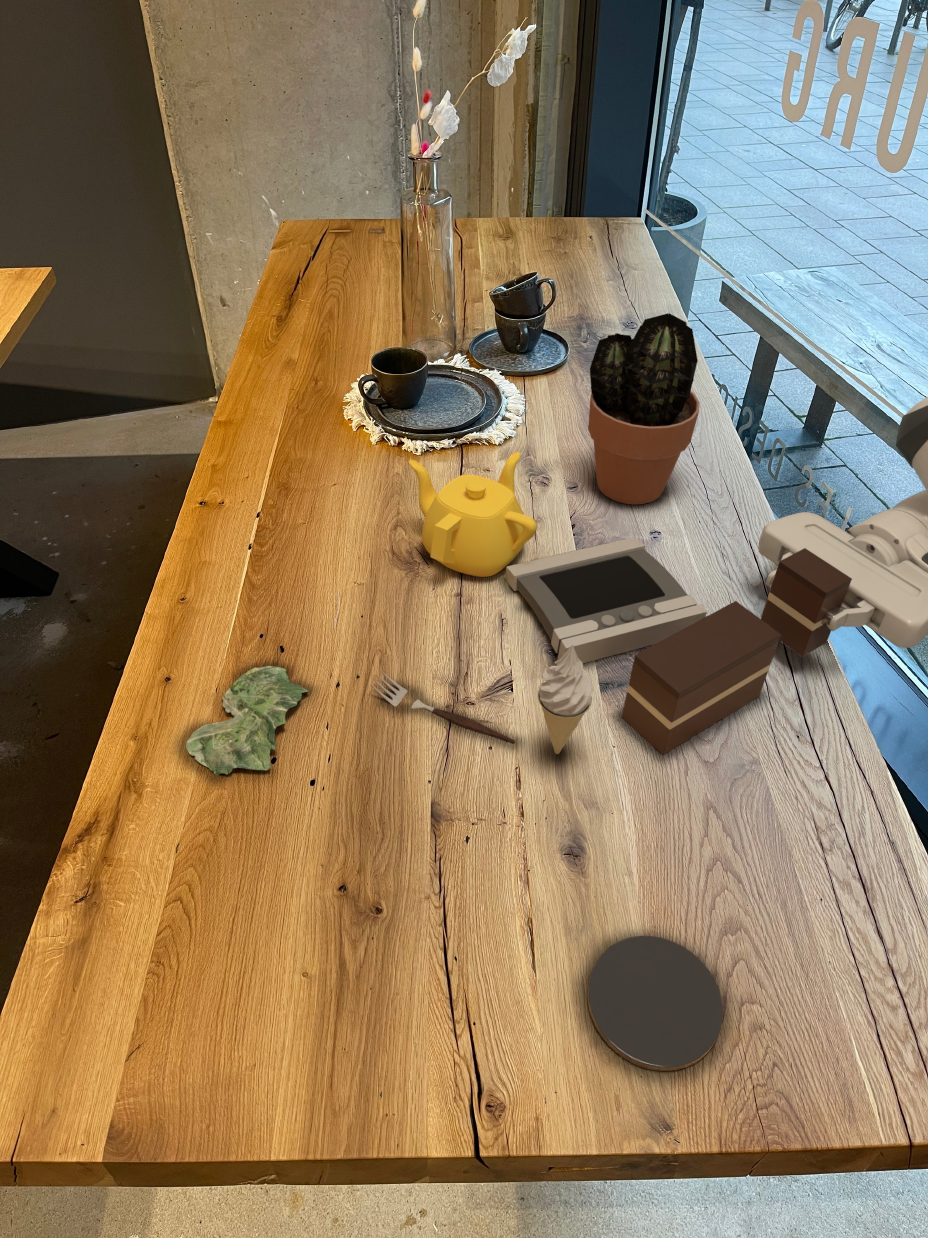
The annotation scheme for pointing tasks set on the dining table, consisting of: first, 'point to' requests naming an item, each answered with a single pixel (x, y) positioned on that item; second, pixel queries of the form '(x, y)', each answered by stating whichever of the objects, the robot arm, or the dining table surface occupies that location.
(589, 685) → the ice cream cone
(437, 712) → the fork
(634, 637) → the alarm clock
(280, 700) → the lettuce leaf
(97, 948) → the dining table surface
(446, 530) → the teapot
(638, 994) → the plate
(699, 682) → the cake loaf
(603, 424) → the potted plant
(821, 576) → the cake slice
